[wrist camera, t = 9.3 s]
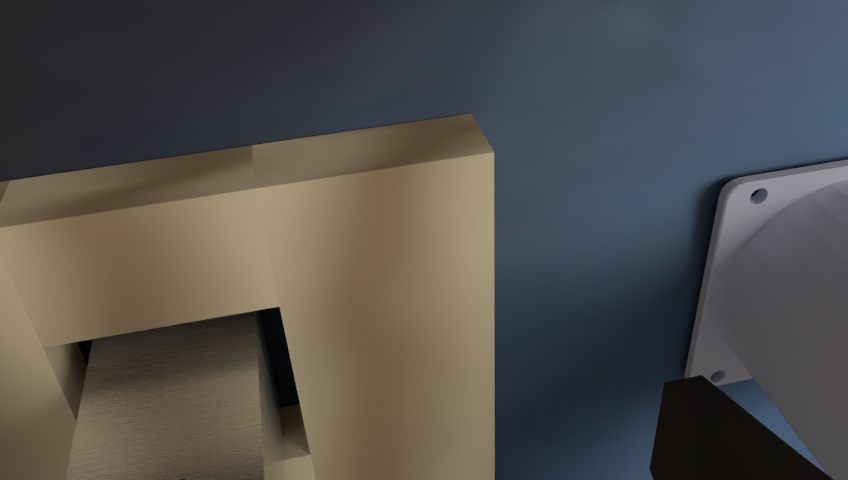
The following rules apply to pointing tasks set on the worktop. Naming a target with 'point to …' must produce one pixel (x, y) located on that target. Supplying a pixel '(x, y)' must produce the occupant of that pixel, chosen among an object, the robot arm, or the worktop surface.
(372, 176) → the socket board
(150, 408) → the square peg
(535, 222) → the worktop surface
